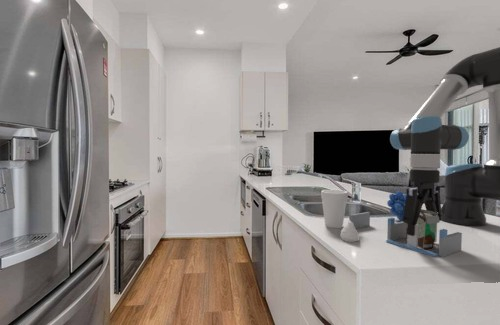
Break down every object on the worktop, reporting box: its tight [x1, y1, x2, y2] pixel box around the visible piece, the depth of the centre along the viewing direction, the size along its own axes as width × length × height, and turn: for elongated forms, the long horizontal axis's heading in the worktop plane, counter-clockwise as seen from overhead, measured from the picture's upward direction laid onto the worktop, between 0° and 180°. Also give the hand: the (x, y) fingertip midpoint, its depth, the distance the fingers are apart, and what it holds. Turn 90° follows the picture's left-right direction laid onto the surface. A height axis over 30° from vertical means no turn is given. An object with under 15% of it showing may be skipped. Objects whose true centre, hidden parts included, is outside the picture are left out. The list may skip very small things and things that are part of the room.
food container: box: [405, 208, 441, 251], centre depth 83 cm, size 12×6×10 cm, turn 178°
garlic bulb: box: [339, 220, 360, 243], centre depth 88 cm, size 6×6×5 cm
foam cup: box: [320, 189, 349, 229], centre depth 104 cm, size 10×9×13 cm
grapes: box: [386, 190, 407, 222], centre depth 112 cm, size 12×7×12 cm, turn 38°
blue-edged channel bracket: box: [348, 211, 463, 258], centre depth 89 cm, size 12×31×7 cm, turn 30°
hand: (422, 243), depth 83 cm, fingers open, 9 cm apart
